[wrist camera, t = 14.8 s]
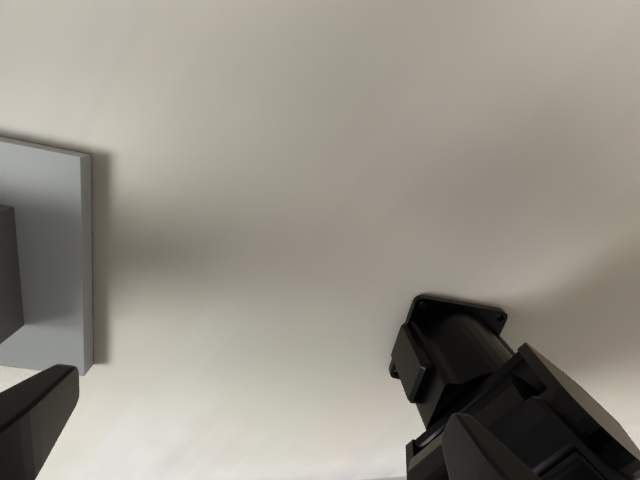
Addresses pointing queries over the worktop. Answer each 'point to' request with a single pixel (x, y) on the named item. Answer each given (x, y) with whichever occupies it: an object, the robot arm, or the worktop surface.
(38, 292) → the awning socket
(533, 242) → the worktop surface
